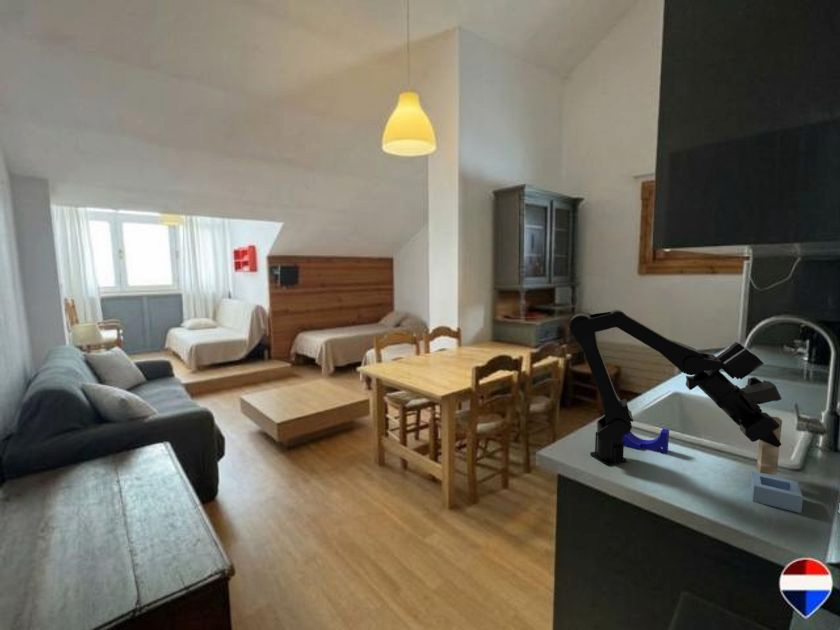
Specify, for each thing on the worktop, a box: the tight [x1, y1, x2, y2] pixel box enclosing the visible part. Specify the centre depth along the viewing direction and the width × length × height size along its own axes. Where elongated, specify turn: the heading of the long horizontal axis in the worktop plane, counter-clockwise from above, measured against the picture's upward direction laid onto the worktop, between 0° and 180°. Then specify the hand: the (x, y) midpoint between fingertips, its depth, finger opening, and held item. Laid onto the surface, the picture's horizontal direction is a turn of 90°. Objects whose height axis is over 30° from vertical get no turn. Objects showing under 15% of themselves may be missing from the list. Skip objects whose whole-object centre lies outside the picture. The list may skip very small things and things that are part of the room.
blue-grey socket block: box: [749, 471, 804, 514], centre depth 86 cm, size 8×7×4 cm
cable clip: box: [622, 427, 670, 455], centre depth 111 cm, size 12×4×6 cm, turn 50°
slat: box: [756, 415, 783, 476], centre depth 91 cm, size 3×2×13 cm, turn 67°
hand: (777, 443), depth 91 cm, fingers closed on slat, 2 cm apart
